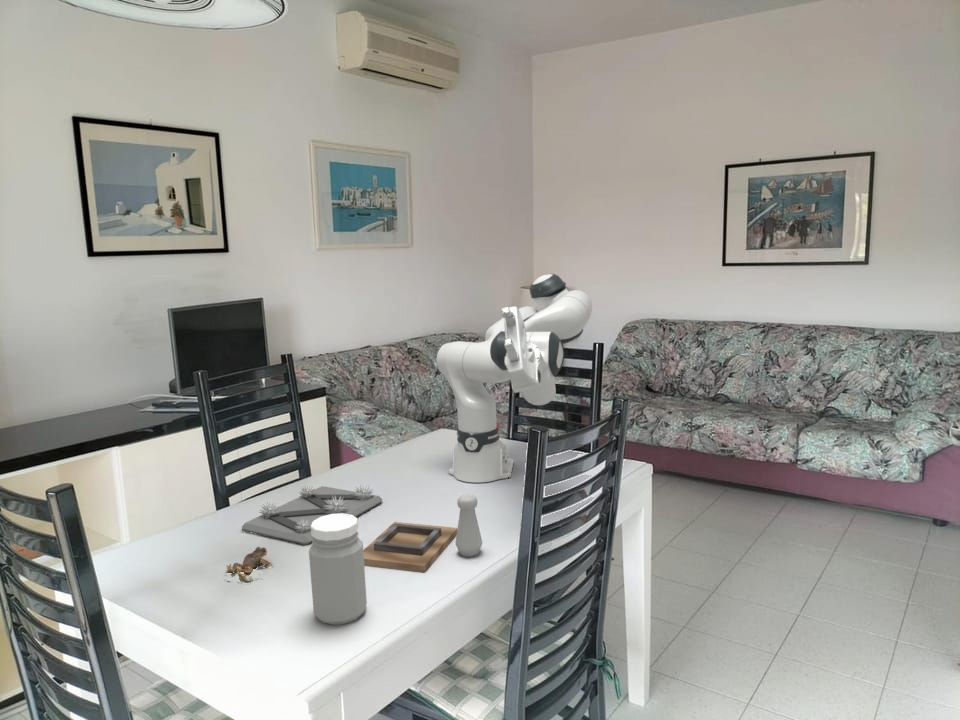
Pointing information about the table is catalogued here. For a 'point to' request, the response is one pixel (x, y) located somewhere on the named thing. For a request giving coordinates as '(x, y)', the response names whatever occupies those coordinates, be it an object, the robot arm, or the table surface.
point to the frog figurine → (250, 565)
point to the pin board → (408, 546)
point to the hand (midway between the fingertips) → (506, 325)
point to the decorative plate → (309, 512)
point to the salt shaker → (468, 527)
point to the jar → (337, 569)
